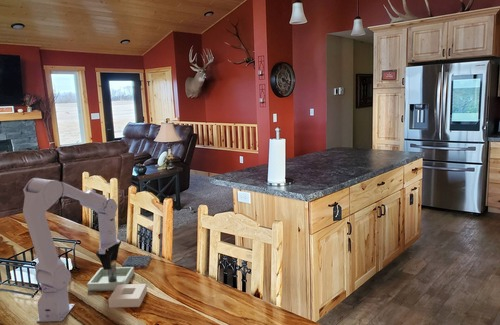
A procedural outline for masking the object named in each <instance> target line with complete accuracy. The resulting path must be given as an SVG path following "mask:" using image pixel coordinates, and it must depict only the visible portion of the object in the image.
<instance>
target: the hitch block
mask: <svg viewBox="0 0 500 325" xmlns="http://www.w3.org/2000/svg"><path fill="white" fill-rule="evenodd" d="M112 291H113V292H112V293H111V294H110V296H109V297H108V299H107V300H108V308H109V309H111V308H139V307H141V304H142V303H143V301H144V299H145V296H146V294H147V292H148V290H147V283H128V284H119V285H117V287H116V288H115V290H112Z"/></svg>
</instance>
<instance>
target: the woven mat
mask: <svg viewBox="0 0 500 325" xmlns="http://www.w3.org/2000/svg"><path fill="white" fill-rule="evenodd" d="M152 259H153V257H152V255H149V254H148V255H146V254H144V255H142V254H140V255H138V254H137V255H134V254H133V255H130V254H129V256H127V258H126V259H125V260H124V261H123V262H122V264H121V267H134V270H136V269H147V267H148V265H150V264H149V263H150V262H151V261H152Z"/></svg>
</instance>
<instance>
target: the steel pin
mask: <svg viewBox="0 0 500 325" xmlns="http://www.w3.org/2000/svg"><path fill="white" fill-rule="evenodd" d="M116 261H117V260H116ZM116 261H115V260H111V266H110V269H109V270H108V282H115V281H117V275H116V267H117V262H116Z"/></svg>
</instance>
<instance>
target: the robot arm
mask: <svg viewBox="0 0 500 325" xmlns="http://www.w3.org/2000/svg"><path fill="white" fill-rule="evenodd" d="M22 190H23V193H24V200H23V207H22V213H23V217H24V220H25V223H26V226H27V230H28V234H29V236H30V239H31V242H32V245H33V248H34V250H35V251H34V252H35V254H36V257H37V260H38V262H37V263H36V264H35V265H34V267H35V275H34V276H35V280H36V282H37V283H38V284H40V288H41V295H40V297H39V299H38V300H37V312H38V318H36V322H37V323H39V322H40V323H41V322H42V323H43V322H47V323H48V322H62V321H63V320H64V319H65V318H66V317H67V316H68V314H69V313H70V312H71V311H72V310H73V308H74V307H75V303H70V299H69V292H68V290H69V289H68V286H69V284H70V283H71V279H72V273H71V271H70V270H69V269H68V268H67V266H66V264H65V263H64V261H62V260H61V259H60V257H59V256H58V255H59V254H58V253H57V252H58V251H57V249H56V246H55V242H54V239H53V235H52V232H51V228H50V226H49V222H48V219H47V216H46V212H47V211H48V210H49V209H50V208H51V207H52V206H53V205H54V204H55V203H56V202H57V201H58V200H59V199H60V198H61V197H63V198H64V197H68V198H71V199H73V200H76V201H79V204H80V205H81V206H82V207H84V208H88V209H90V210H93V211H94V212H95V213H97V219H98V230H99V232H98V233H99V247H98V250H97V251H96V252H95V255H96V256H97V258H98V260H99V262H100V263H101V266H102V268H103V269H104V270H109V269H110V266H111V260H115V261H117V260H118V257H119V256H118V255H119V250H120V246H121V244H122V240H120V239H119V235H118V234H117V229H116V228H117V226H116V217H117V214H116V213H117V210H118V208H119V205H118V204H117V202H116V200H115V199H113V198H108V197H106V195H105V194H100V193H97V191H96V190H94V189H89V190H85V191H84V190H81V189H79V188H77V187H74V186H73V185H71V184H69V183H67V182H63V181H59V180H57V179H44V178H40V177H33V178H31V179H30V180H29V181H28V182H27V183H26V185H25V186H24V188H23V189H22Z"/></svg>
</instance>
